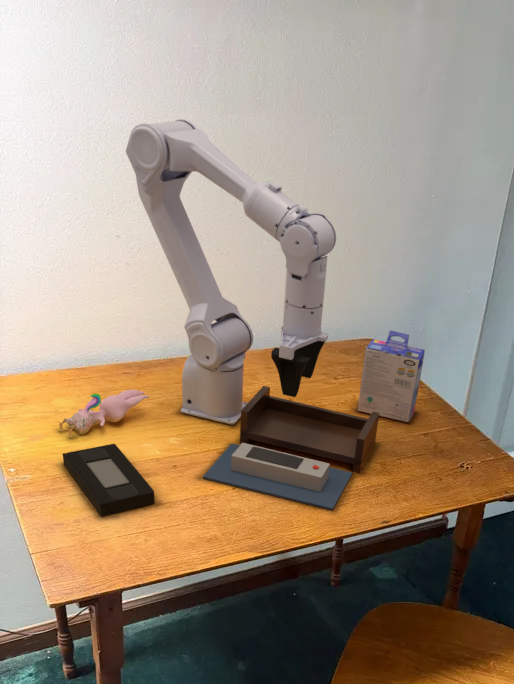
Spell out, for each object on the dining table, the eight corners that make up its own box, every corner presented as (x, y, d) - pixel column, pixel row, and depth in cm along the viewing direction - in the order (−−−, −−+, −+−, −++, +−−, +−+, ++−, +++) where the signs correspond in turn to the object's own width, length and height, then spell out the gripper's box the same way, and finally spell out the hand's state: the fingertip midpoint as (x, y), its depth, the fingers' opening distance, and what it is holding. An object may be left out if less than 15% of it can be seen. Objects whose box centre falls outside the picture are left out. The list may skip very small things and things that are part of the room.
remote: (231, 470, 118) (231, 454, 117) (241, 457, 122) (242, 441, 120) (320, 492, 117) (321, 476, 115) (328, 478, 121) (330, 462, 119)
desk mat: (202, 478, 116) (202, 476, 116) (231, 445, 125) (231, 443, 125) (332, 510, 114) (332, 508, 114) (352, 474, 123) (352, 472, 123)
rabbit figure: (79, 450, 119) (160, 410, 128) (70, 417, 115) (154, 378, 124) (56, 434, 122) (136, 396, 131) (46, 401, 118) (130, 364, 127)
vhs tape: (115, 455, 118) (114, 443, 116) (155, 503, 109) (154, 491, 108) (64, 465, 113) (62, 453, 112) (101, 516, 105) (99, 504, 104)
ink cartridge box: (415, 411, 145) (428, 336, 136) (409, 424, 140) (423, 347, 132) (363, 399, 145) (373, 324, 137) (356, 411, 141) (366, 334, 133)
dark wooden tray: (239, 443, 126) (240, 410, 122) (261, 417, 134) (263, 385, 130) (359, 473, 124) (364, 439, 121) (374, 444, 132) (379, 412, 129)
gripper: (315, 323, 110) (307, 409, 118) (342, 293, 122) (334, 373, 130) (267, 312, 111) (263, 399, 119) (299, 283, 123) (293, 364, 131)
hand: (297, 385), depth 125 cm, fingers open, 7 cm apart
